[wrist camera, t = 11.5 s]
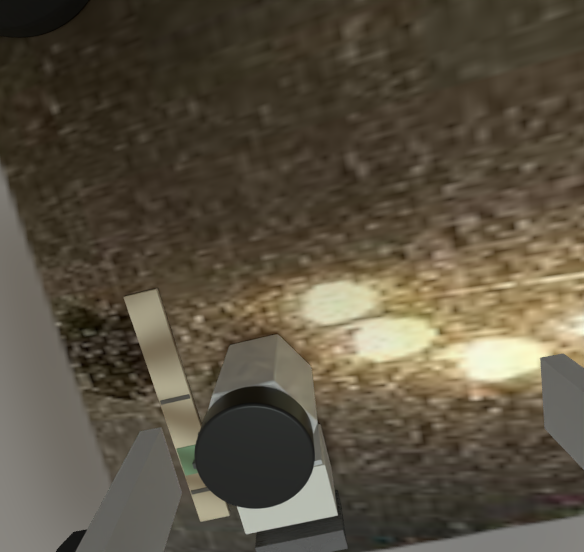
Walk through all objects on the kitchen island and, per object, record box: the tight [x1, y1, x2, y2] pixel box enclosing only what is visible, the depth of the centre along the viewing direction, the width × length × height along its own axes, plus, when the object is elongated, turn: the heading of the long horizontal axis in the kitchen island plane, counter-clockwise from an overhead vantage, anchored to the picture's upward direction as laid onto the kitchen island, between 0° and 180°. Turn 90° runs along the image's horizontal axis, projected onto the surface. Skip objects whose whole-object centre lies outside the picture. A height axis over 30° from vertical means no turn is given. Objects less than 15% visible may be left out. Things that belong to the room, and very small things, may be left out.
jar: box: [194, 334, 318, 509], centre depth 36 cm, size 9×8×12 cm
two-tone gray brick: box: [255, 490, 348, 552], centre depth 42 cm, size 2×8×5 cm, turn 104°
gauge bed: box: [124, 288, 230, 521], centre depth 42 cm, size 24×3×1 cm, turn 14°
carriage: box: [192, 423, 338, 534], centre depth 40 cm, size 5×13×6 cm, turn 103°
